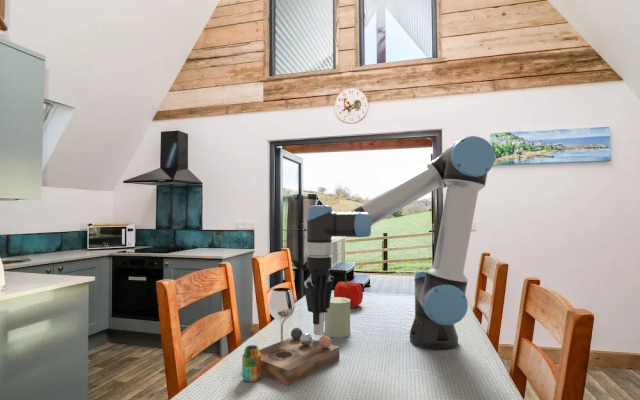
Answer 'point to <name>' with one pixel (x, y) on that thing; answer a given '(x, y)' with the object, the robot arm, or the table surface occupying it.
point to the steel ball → (305, 339)
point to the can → (338, 318)
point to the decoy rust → (325, 341)
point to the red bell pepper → (349, 292)
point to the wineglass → (281, 306)
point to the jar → (251, 363)
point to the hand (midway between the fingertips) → (318, 334)
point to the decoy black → (296, 333)
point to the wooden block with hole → (295, 359)
